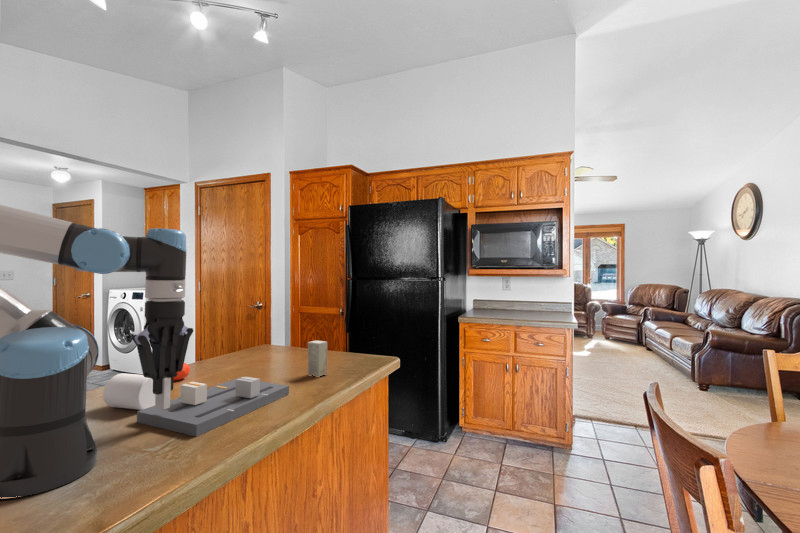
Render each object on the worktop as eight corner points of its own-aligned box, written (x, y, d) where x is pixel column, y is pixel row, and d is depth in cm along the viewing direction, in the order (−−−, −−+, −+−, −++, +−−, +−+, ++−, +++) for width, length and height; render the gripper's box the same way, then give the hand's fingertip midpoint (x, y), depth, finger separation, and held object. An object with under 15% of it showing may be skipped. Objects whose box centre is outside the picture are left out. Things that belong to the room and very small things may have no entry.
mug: (137, 415, 90) (138, 381, 90) (102, 411, 92) (103, 378, 92) (176, 399, 102) (177, 368, 102) (144, 395, 104) (145, 366, 104)
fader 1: (195, 405, 90) (195, 387, 90) (180, 402, 91) (180, 384, 91) (206, 400, 93) (207, 383, 93) (191, 398, 94) (192, 380, 94)
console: (199, 437, 79) (200, 425, 79) (136, 422, 86) (137, 410, 86) (291, 394, 107) (291, 385, 107) (238, 386, 114) (238, 377, 114)
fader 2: (250, 398, 95) (250, 381, 95) (235, 395, 97) (235, 378, 97) (259, 394, 98) (260, 378, 98) (244, 392, 100) (245, 375, 100)
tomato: (158, 381, 119) (158, 360, 120) (187, 377, 124) (186, 356, 125) (163, 383, 114) (163, 361, 114) (193, 379, 119) (193, 357, 120)
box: (327, 375, 128) (328, 341, 128) (318, 378, 124) (319, 343, 124) (316, 372, 131) (316, 339, 131) (306, 375, 127) (307, 341, 127)
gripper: (148, 302, 77) (145, 420, 77) (203, 298, 90) (200, 400, 89) (123, 300, 80) (120, 414, 80) (179, 297, 92) (177, 396, 92)
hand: (162, 407), depth 85 cm, fingers closed
